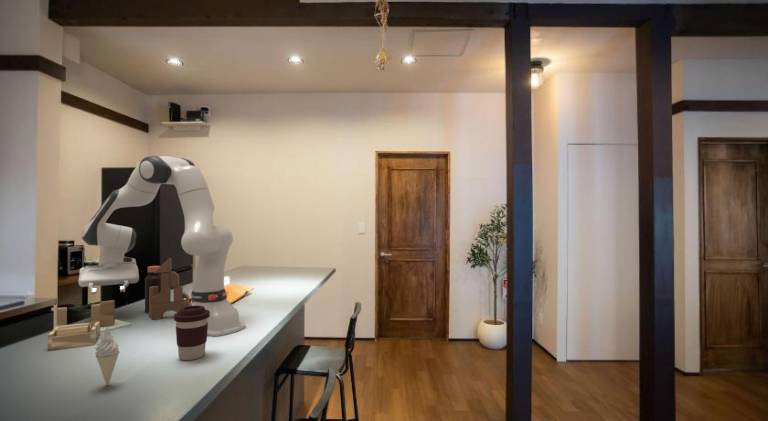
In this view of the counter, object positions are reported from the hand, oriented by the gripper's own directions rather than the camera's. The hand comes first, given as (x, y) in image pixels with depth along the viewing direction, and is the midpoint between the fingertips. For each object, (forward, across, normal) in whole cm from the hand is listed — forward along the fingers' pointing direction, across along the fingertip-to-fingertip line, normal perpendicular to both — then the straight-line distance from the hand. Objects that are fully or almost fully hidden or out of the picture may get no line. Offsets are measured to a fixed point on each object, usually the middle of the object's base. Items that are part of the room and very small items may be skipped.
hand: (108, 292), depth 153 cm
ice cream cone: (+56, +8, -38) cm, 68 cm away
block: (+12, 0, +5) cm, 13 cm away
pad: (+12, 0, +5) cm, 13 cm away
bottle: (0, +15, +18) cm, 24 cm away
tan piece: (+24, -7, -6) cm, 26 cm away
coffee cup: (+48, +28, -30) cm, 63 cm away
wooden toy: (+9, +21, +9) cm, 25 cm away
